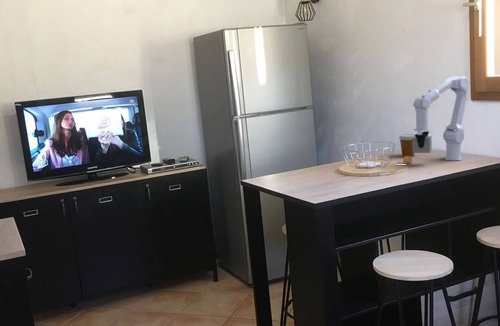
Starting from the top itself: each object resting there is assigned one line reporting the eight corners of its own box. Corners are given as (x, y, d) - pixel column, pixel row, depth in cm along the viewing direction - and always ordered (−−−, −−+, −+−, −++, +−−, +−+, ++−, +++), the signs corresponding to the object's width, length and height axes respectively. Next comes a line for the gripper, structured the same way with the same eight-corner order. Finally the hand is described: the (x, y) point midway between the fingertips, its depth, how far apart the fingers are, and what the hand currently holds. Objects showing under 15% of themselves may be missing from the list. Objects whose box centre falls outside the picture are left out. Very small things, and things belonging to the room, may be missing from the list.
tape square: (398, 162, 290) (397, 161, 290) (413, 162, 286) (413, 162, 286) (394, 165, 283) (394, 165, 283) (410, 165, 279) (410, 165, 279)
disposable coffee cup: (395, 156, 307) (395, 135, 304) (408, 153, 311) (408, 133, 308) (407, 158, 298) (406, 137, 296) (420, 156, 302) (420, 135, 300)
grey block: (414, 150, 283) (414, 136, 282) (431, 150, 279) (431, 136, 278) (412, 152, 278) (412, 138, 277) (430, 152, 274) (429, 138, 273)
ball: (413, 157, 283) (410, 164, 285) (405, 154, 285) (402, 161, 286) (412, 158, 280) (409, 166, 281) (404, 155, 281) (401, 163, 282)
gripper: (416, 118, 284) (416, 144, 286) (411, 122, 271) (411, 148, 274) (430, 118, 281) (430, 144, 283) (425, 122, 268) (426, 149, 271)
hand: (422, 146), depth 278 cm, fingers closed on grey block, 6 cm apart
